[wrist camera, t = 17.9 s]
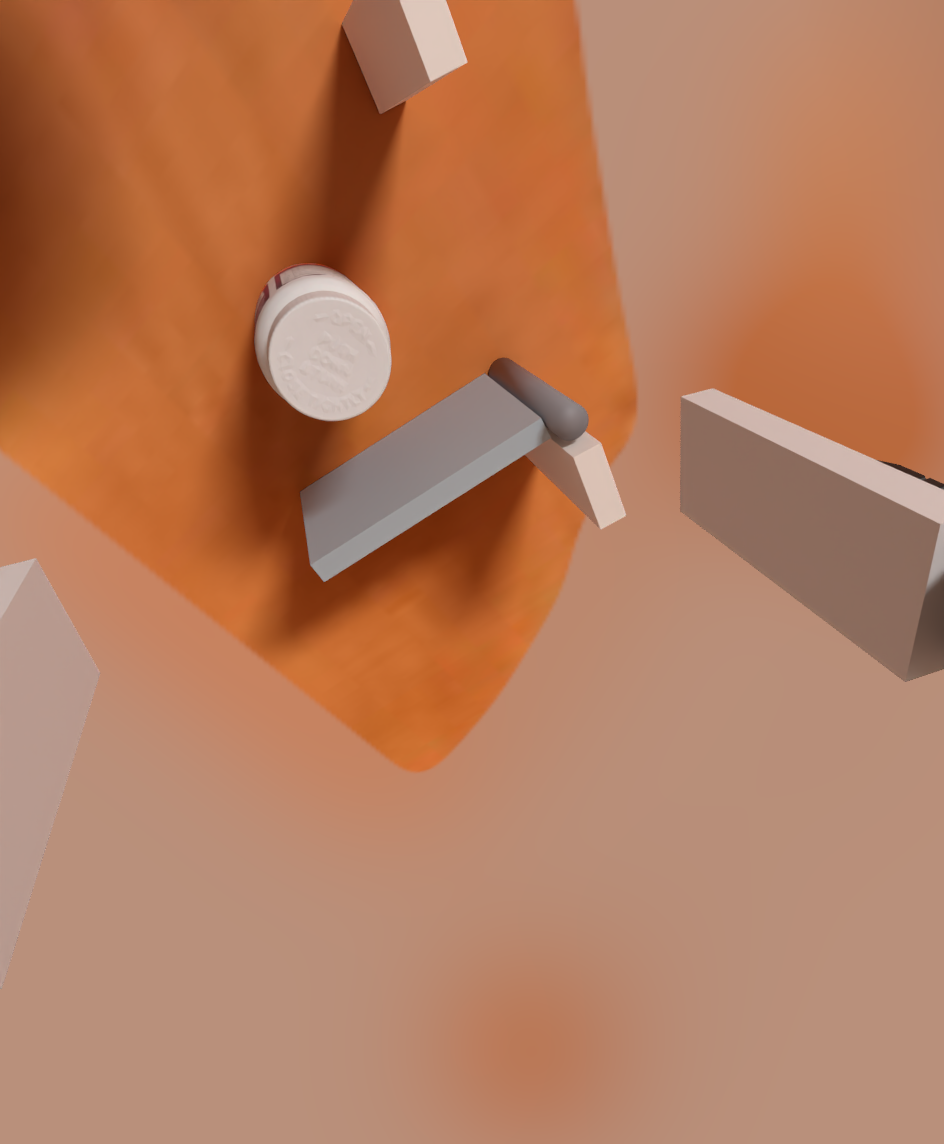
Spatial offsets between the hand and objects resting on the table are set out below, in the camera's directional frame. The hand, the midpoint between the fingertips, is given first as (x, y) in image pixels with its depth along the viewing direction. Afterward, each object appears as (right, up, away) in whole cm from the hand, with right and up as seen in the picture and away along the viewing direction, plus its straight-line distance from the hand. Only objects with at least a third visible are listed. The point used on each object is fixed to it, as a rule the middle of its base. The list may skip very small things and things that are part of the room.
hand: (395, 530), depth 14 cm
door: (-2, +7, +29) cm, 30 cm away
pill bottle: (-7, +13, +25) cm, 29 cm away
